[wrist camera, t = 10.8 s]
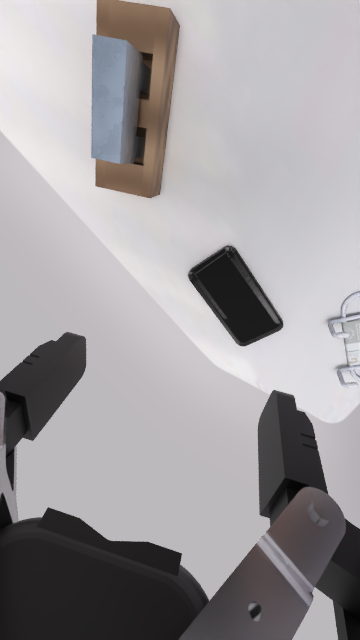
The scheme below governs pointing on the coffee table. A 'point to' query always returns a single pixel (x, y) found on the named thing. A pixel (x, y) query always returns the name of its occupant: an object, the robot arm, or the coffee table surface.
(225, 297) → the phone
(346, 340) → the silver thin wire frame
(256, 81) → the coffee table surface
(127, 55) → the brushed steel block
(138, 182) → the two-pocket wooden block
